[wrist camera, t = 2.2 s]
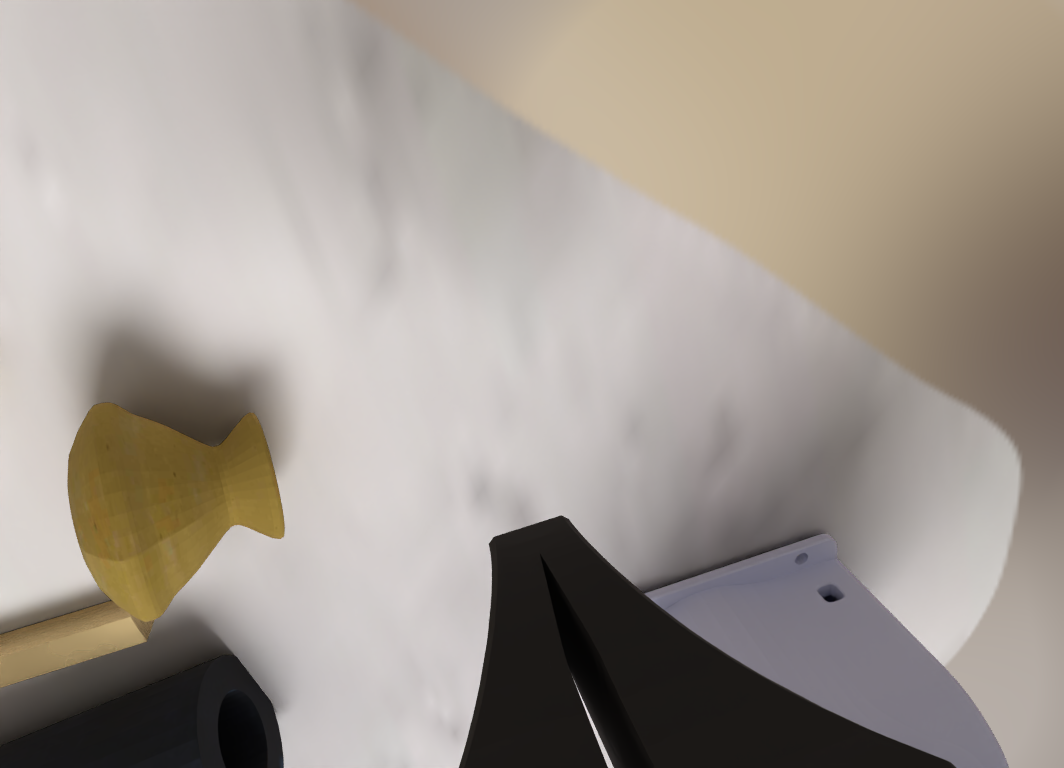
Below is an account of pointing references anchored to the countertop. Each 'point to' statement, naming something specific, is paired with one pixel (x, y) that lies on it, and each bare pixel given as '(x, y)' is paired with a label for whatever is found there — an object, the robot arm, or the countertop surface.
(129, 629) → the u-shaped bracket
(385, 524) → the countertop surface
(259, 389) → the countertop surface
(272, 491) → the knob
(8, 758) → the pipe connector
